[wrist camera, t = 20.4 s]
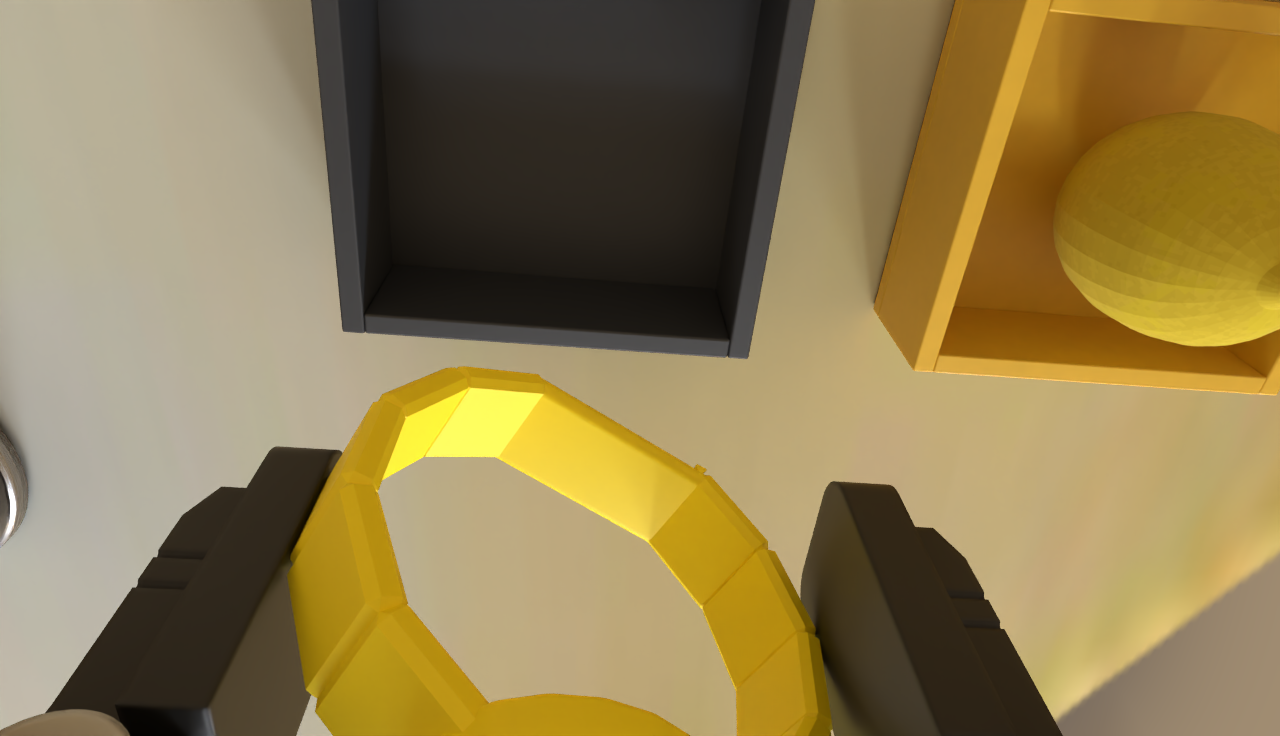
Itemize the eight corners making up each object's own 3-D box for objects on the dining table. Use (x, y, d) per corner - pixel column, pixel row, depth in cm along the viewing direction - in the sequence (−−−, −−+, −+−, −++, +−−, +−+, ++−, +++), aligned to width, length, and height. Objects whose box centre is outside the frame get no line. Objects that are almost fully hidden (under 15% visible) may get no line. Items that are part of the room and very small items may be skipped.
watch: (813, 472, 12) (975, 912, 7) (701, 590, 13) (766, 1048, 8) (444, 263, 10) (271, 650, 5) (349, 422, 11) (128, 872, 6)
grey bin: (378, 272, 25) (342, 332, 22) (353, -100, 20) (300, -100, 17) (729, 298, 26) (748, 360, 23) (787, -52, 21) (823, -43, 18)
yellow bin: (872, 309, 27) (912, 371, 23) (963, -33, 22) (1032, -21, 18) (1190, 332, 28) (1277, 396, 24) (1349, 9, 23) (1487, 29, 19)
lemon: (1047, 72, 23) (1242, 148, 16) (1230, 98, 23) (1497, 182, 16) (980, 256, 25) (1122, 390, 18) (1145, 275, 26) (1342, 412, 19)
